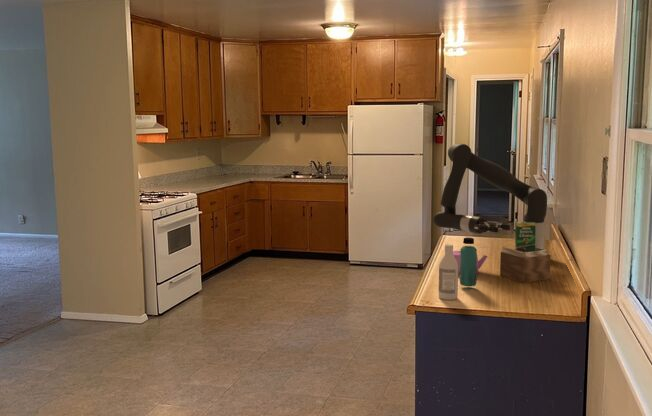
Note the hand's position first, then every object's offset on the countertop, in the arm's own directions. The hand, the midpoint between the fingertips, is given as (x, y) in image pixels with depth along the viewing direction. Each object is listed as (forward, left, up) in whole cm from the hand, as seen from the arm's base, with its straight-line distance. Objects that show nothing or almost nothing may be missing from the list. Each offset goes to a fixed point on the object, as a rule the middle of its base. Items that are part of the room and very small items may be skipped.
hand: (503, 228), depth 272 cm
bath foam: (+44, +22, -19) cm, 53 cm away
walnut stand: (-3, +10, -19) cm, 22 cm away
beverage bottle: (+29, +14, -19) cm, 38 cm away
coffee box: (-3, +10, -9) cm, 14 cm away
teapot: (+14, -7, -19) cm, 25 cm away
